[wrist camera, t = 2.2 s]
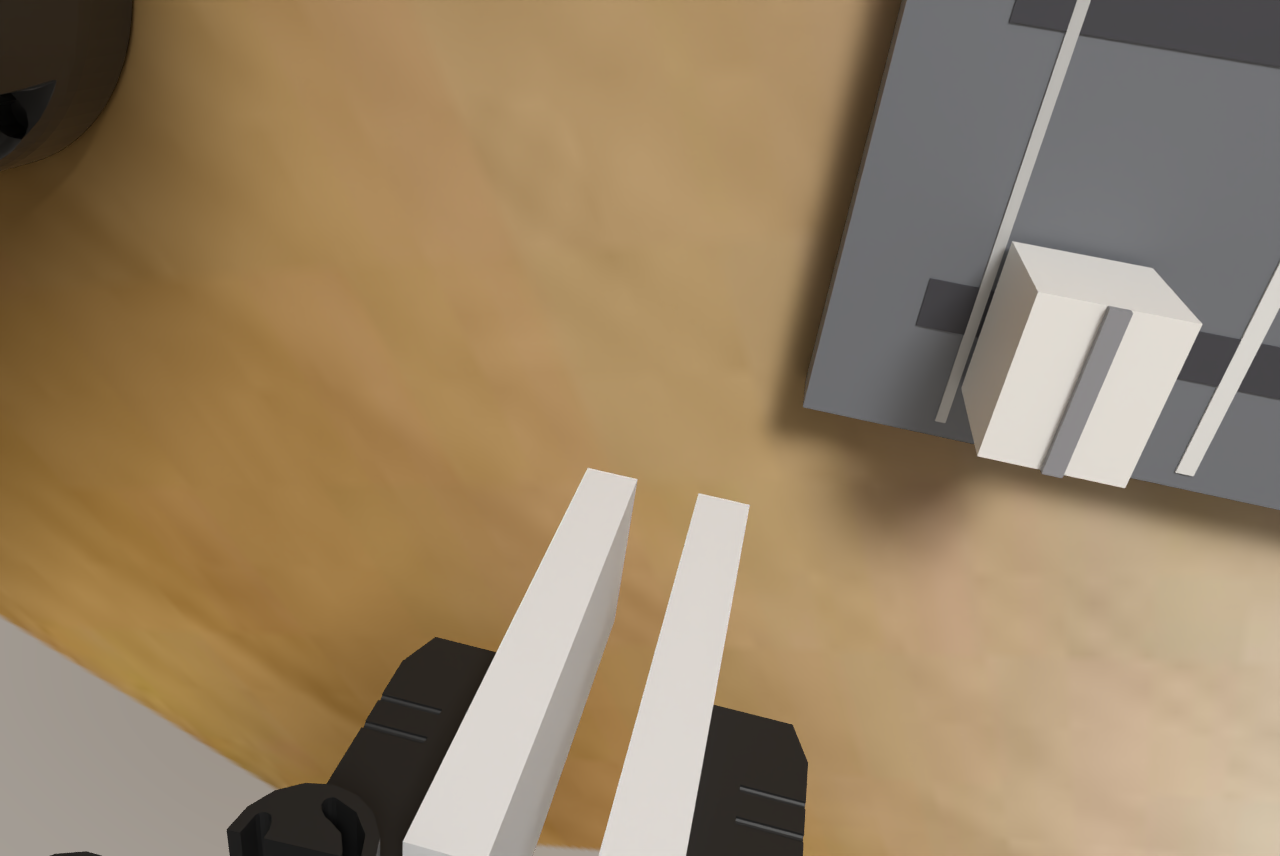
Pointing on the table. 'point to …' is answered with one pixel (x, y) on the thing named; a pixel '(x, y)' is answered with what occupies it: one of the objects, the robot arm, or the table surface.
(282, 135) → the table surface
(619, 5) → the table surface
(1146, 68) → the console
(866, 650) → the table surface
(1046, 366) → the block
